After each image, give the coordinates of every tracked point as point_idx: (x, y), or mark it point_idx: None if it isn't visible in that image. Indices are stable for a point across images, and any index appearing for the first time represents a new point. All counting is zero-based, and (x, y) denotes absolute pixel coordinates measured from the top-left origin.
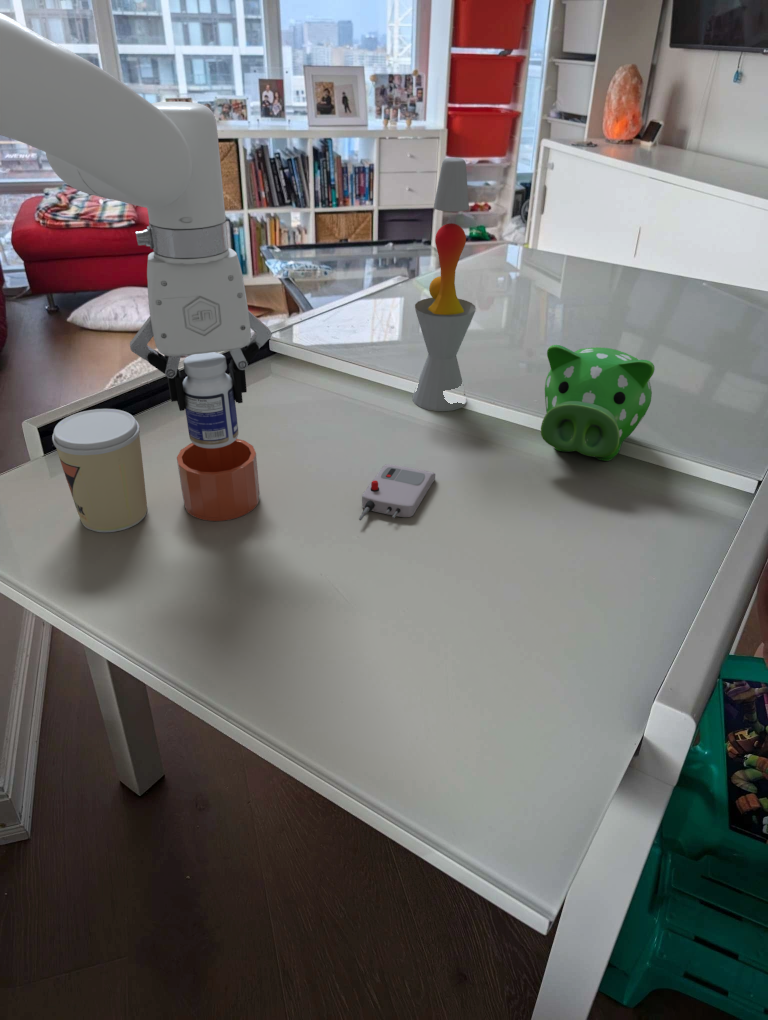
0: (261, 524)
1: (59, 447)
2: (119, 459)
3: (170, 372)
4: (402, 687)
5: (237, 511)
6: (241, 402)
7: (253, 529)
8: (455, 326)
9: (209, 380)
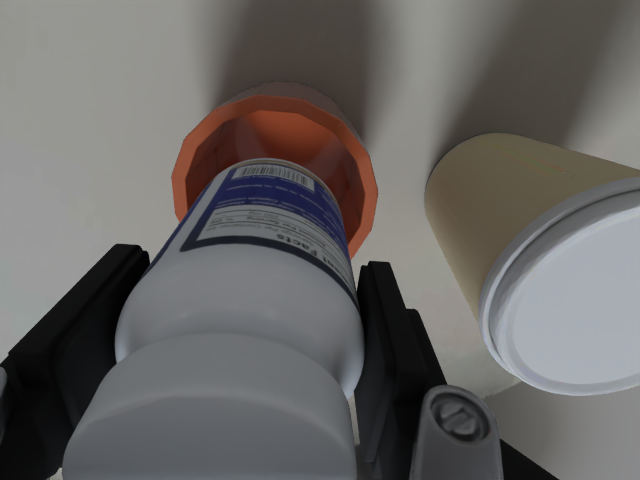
0: (222, 32)
1: None
2: (573, 177)
3: (457, 422)
4: None
5: (265, 83)
6: (124, 245)
7: (243, 18)
8: None
9: (228, 323)
